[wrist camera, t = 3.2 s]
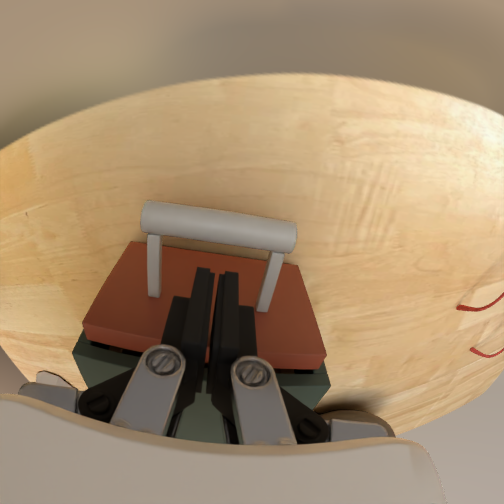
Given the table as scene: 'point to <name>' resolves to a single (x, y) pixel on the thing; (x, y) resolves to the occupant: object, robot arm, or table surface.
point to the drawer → (182, 278)
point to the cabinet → (201, 411)
